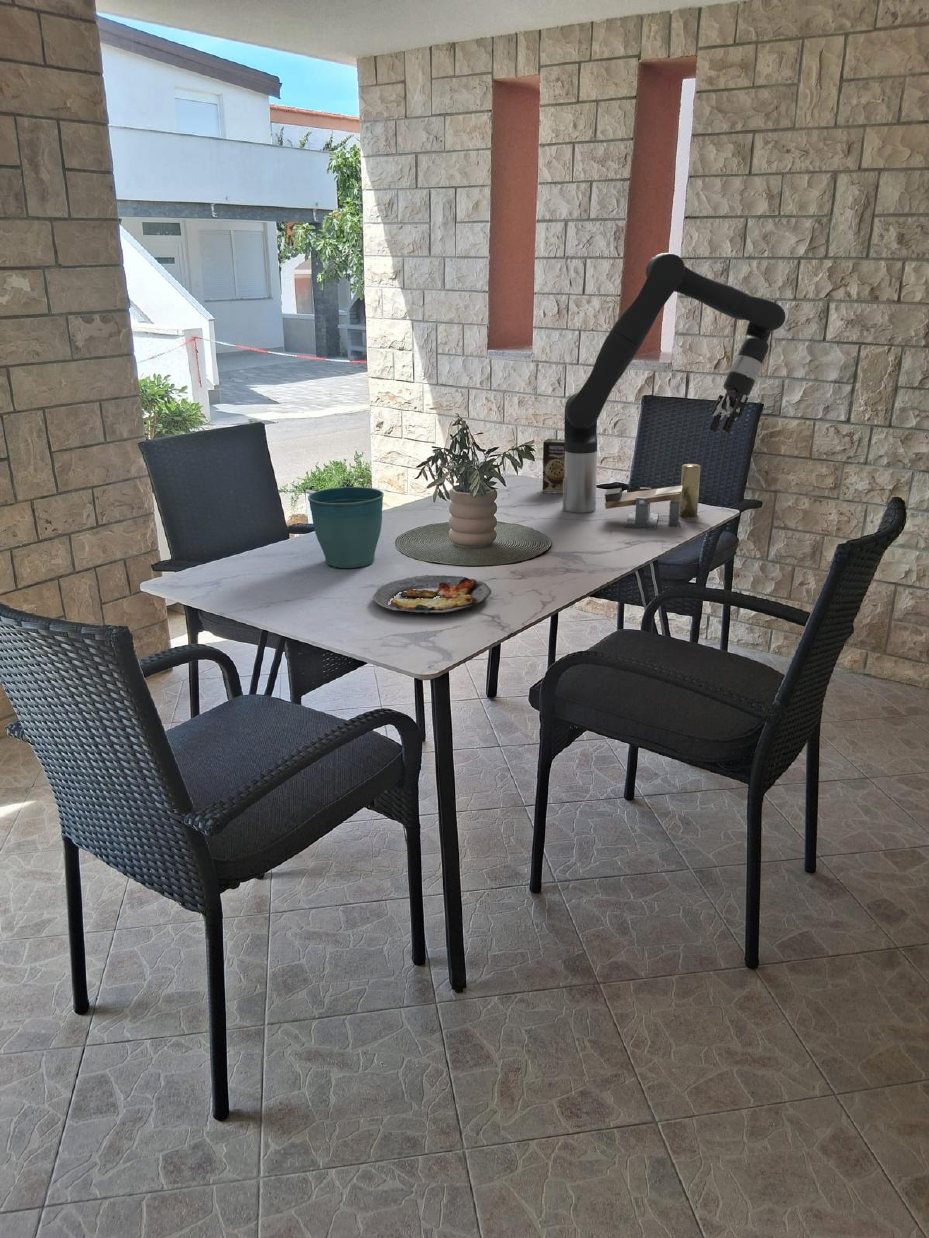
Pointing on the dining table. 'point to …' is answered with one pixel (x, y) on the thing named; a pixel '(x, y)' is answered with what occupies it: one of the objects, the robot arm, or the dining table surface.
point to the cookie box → (553, 465)
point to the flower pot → (347, 524)
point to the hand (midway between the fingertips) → (718, 431)
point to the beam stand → (650, 514)
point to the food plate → (433, 594)
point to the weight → (689, 490)
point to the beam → (654, 495)
